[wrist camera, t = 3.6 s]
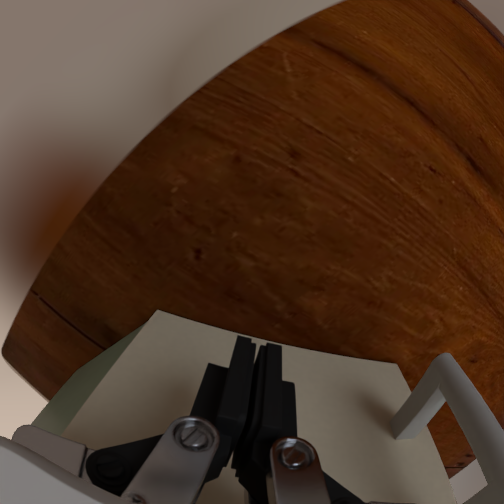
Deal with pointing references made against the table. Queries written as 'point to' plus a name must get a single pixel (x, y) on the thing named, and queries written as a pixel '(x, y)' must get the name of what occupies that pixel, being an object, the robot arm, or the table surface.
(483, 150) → the table surface
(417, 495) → the door
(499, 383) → the table surface
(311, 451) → the robot arm
